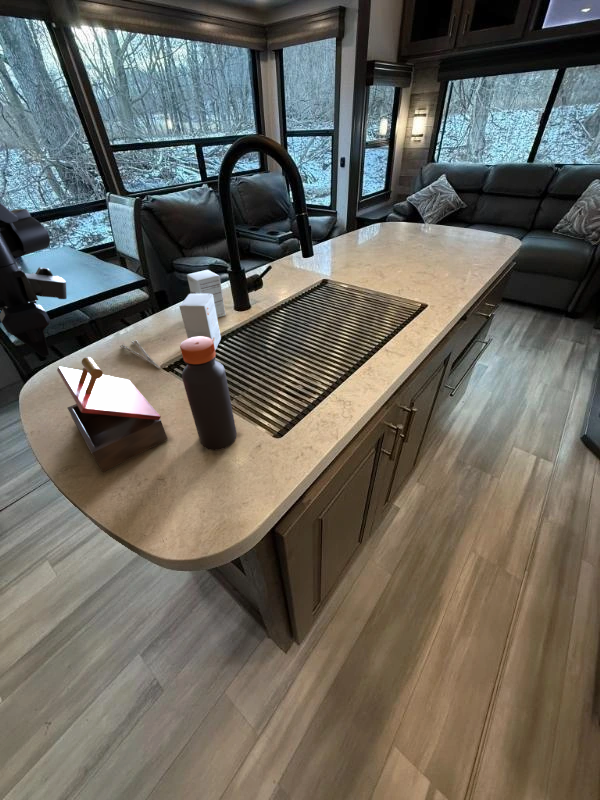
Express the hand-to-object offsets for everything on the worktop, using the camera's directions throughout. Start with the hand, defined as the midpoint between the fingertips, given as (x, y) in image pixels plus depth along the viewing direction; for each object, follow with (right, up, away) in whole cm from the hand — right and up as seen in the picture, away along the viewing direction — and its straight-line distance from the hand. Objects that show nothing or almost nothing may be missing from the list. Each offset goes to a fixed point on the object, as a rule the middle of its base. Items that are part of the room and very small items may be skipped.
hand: (41, 346), depth 65 cm
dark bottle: (+36, -18, -3) cm, 40 cm away
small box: (+26, +4, +25) cm, 36 cm away
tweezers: (+10, +1, +21) cm, 23 cm away
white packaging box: (+22, +17, +40) cm, 49 cm away
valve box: (+17, -17, -2) cm, 24 cm away
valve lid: (+17, -10, -7) cm, 21 cm away
